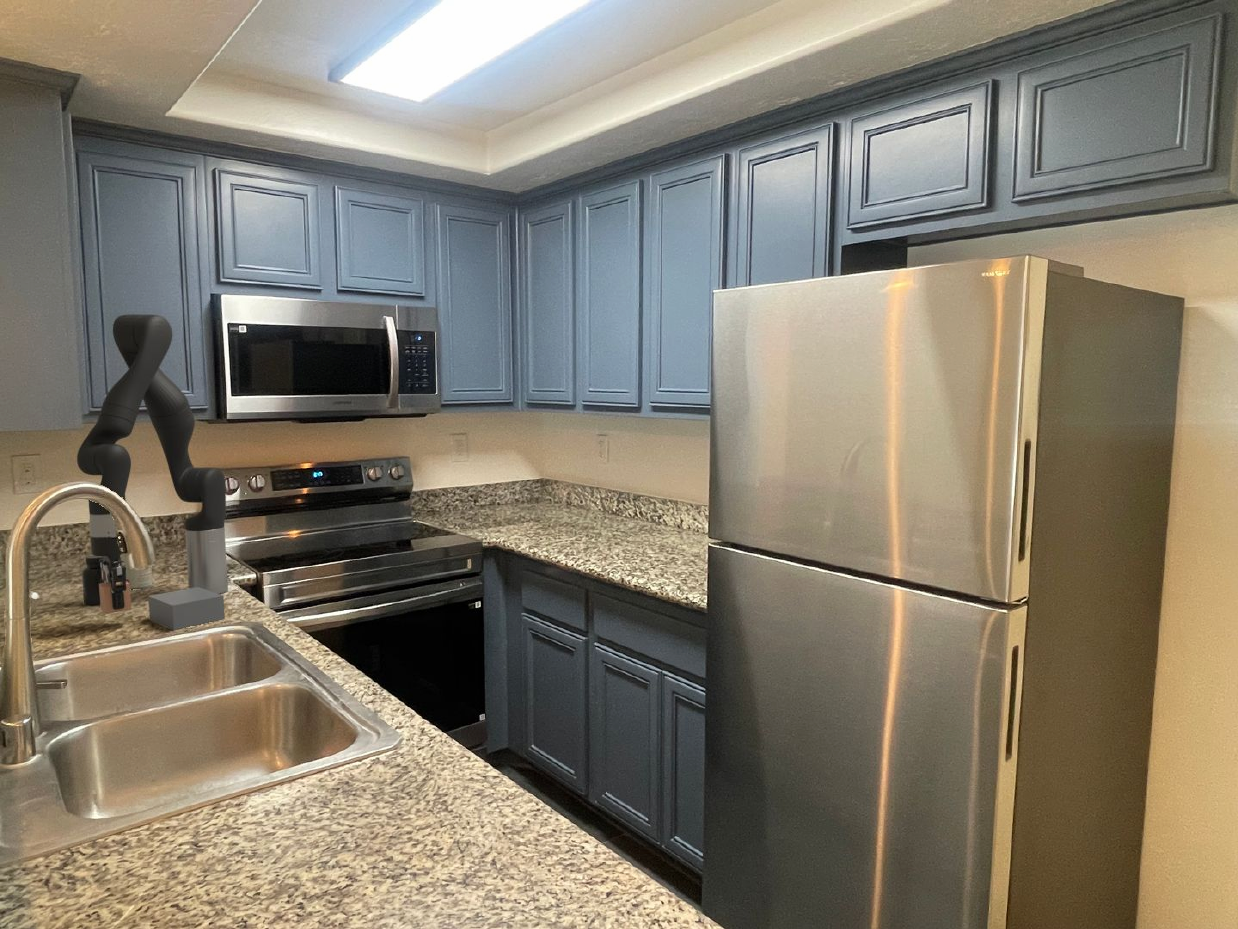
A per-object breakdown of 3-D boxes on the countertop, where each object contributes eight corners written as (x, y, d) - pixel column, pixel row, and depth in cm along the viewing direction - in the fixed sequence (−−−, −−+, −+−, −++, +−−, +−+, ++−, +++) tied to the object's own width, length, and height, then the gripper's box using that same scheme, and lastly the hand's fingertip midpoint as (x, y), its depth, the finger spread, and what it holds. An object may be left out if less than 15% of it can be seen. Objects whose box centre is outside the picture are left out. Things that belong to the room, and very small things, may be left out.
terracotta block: (100, 609, 181) (98, 583, 180) (126, 605, 184) (124, 579, 184) (105, 614, 177) (103, 587, 177) (131, 609, 181) (129, 583, 180)
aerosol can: (139, 584, 222) (134, 513, 221) (158, 585, 220) (154, 514, 219) (117, 590, 216) (112, 517, 214) (137, 591, 214) (132, 517, 212)
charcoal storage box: (149, 621, 186) (148, 596, 185) (199, 611, 194) (197, 587, 194) (174, 632, 177) (172, 605, 176) (224, 621, 185) (223, 595, 185)
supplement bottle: (77, 605, 200) (73, 558, 199) (101, 598, 207) (98, 553, 206) (97, 607, 198) (94, 559, 197) (122, 600, 205) (119, 554, 204)
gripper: (83, 530, 182) (89, 603, 184) (97, 539, 171) (103, 616, 173) (121, 526, 187) (127, 597, 189) (136, 534, 176) (142, 609, 178)
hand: (115, 606), depth 181 cm, fingers closed on terracotta block, 5 cm apart
